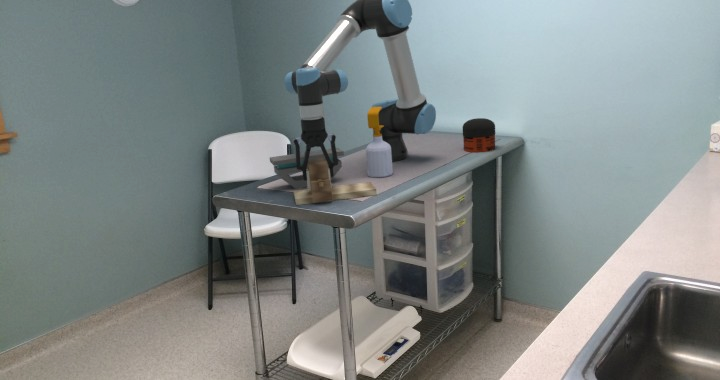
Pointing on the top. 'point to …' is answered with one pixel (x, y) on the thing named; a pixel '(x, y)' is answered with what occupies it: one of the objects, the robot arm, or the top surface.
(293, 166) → the grey slotted trapezoid block
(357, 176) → the top surface
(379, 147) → the soap bottle
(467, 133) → the oil filter
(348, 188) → the board
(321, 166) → the notched wooden block
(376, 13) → the robot arm
